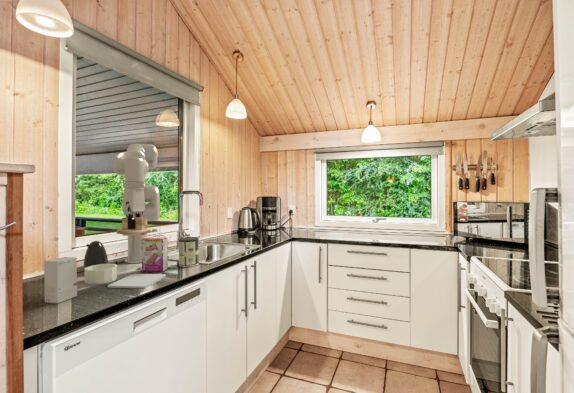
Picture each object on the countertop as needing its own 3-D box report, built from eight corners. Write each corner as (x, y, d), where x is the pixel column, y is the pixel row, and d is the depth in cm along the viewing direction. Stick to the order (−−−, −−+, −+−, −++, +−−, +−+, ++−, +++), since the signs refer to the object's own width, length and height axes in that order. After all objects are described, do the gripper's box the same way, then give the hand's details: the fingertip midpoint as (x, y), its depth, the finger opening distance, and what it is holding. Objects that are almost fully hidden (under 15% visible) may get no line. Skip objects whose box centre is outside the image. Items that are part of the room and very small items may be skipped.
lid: (129, 231, 141) (129, 216, 141) (158, 232, 140) (158, 216, 140) (108, 236, 127) (108, 219, 127) (141, 236, 126) (141, 219, 126)
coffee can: (190, 261, 171) (190, 236, 171) (202, 264, 166) (202, 238, 165) (174, 265, 163) (174, 238, 163) (187, 268, 157) (186, 240, 157)
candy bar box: (141, 271, 150) (140, 238, 150) (146, 269, 155) (146, 236, 155) (163, 272, 149) (162, 238, 149) (168, 269, 154) (167, 236, 154)
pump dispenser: (77, 274, 145) (77, 242, 145) (95, 268, 155) (94, 238, 155) (96, 275, 143) (96, 243, 143) (113, 269, 153) (112, 239, 153)
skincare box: (57, 304, 108) (56, 261, 107) (43, 302, 109) (42, 260, 108) (78, 295, 116) (77, 256, 115) (64, 294, 117) (64, 255, 117)
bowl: (97, 276, 142) (97, 263, 142) (122, 277, 141) (122, 263, 141) (78, 284, 130) (78, 270, 130) (105, 285, 129) (105, 270, 129)
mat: (132, 275, 144) (132, 273, 144) (165, 276, 142) (165, 274, 142) (107, 287, 126) (107, 285, 126) (145, 288, 124) (145, 286, 124)
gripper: (137, 186, 142) (137, 225, 142) (113, 185, 125) (114, 230, 126) (152, 186, 141) (153, 226, 142) (131, 185, 125) (131, 230, 125)
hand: (134, 227), depth 134 cm, fingers closed on lid, 4 cm apart
